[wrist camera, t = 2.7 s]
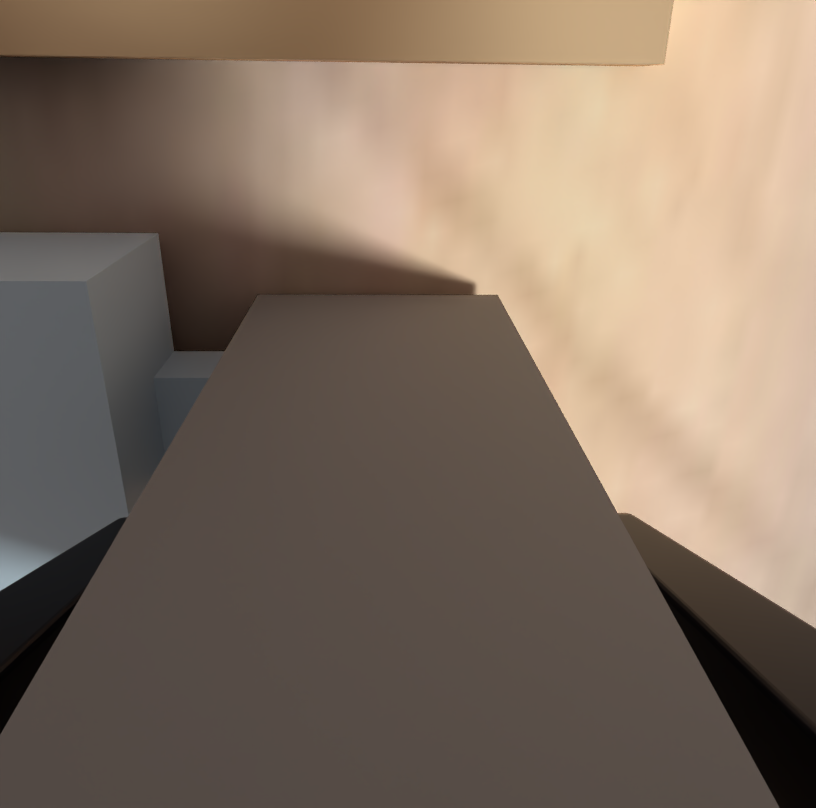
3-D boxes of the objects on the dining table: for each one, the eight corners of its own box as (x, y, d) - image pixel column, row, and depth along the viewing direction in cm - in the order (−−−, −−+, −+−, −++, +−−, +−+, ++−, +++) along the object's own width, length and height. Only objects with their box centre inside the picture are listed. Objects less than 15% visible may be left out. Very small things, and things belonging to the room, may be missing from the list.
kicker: (501, 235, 11) (851, 676, 3) (480, 541, 14) (637, 1256, 5) (-35, 231, 11) (-1385, 714, 3) (43, 546, 14) (-518, 1312, 5)
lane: (652, -26, 10) (678, -37, 9) (558, 668, 16) (569, 705, 15) (-851, -55, 9) (-983, -70, 9) (-392, 685, 15) (-442, 724, 14)
